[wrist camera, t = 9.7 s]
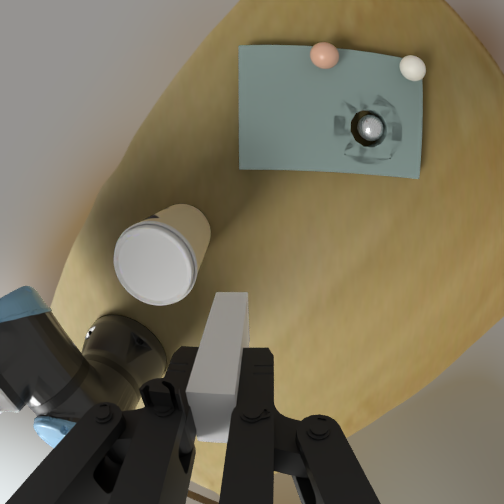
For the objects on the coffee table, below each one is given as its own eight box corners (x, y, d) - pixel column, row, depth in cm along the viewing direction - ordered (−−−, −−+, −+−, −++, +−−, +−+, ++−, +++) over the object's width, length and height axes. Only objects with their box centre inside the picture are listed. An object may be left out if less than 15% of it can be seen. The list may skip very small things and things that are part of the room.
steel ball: (351, 139, 34) (373, 140, 32) (352, 112, 33) (374, 113, 31) (367, 140, 36) (388, 142, 34) (367, 116, 35) (388, 117, 32)
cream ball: (396, 80, 30) (405, 76, 27) (395, 55, 29) (404, 50, 26) (419, 84, 30) (430, 81, 27) (418, 60, 29) (429, 56, 26)
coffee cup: (169, 184, 40) (129, 206, 29) (230, 221, 41) (211, 257, 30) (141, 240, 43) (100, 278, 32) (196, 275, 44) (171, 323, 33)
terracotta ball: (308, 70, 31) (311, 64, 28) (308, 45, 30) (311, 37, 27) (336, 72, 31) (341, 67, 28) (336, 47, 29) (341, 40, 26)
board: (241, 167, 38) (239, 169, 36) (241, 50, 33) (238, 45, 30) (411, 176, 36) (419, 179, 34) (413, 65, 31) (421, 62, 29)
